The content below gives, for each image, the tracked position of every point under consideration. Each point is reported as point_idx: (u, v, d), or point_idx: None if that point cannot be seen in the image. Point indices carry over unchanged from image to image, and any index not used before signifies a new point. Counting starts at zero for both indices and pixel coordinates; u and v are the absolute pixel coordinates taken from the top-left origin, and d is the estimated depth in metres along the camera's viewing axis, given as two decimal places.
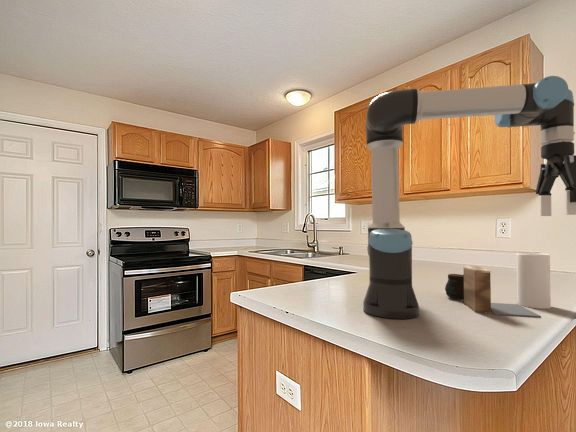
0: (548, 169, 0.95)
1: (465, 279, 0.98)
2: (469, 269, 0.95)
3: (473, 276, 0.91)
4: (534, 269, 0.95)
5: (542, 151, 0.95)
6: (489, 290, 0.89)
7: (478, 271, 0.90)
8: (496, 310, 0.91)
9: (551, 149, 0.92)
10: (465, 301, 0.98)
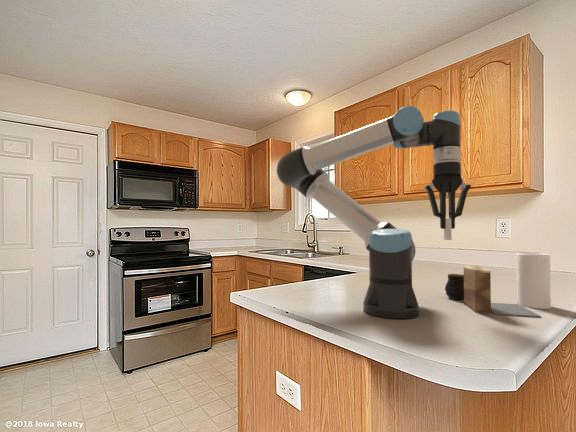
0: None
1: (465, 279, 0.98)
2: (469, 269, 0.95)
3: (473, 276, 0.91)
4: (534, 269, 0.95)
5: None
6: (489, 290, 0.89)
7: (478, 271, 0.90)
8: (496, 310, 0.91)
9: None
10: (465, 301, 0.98)
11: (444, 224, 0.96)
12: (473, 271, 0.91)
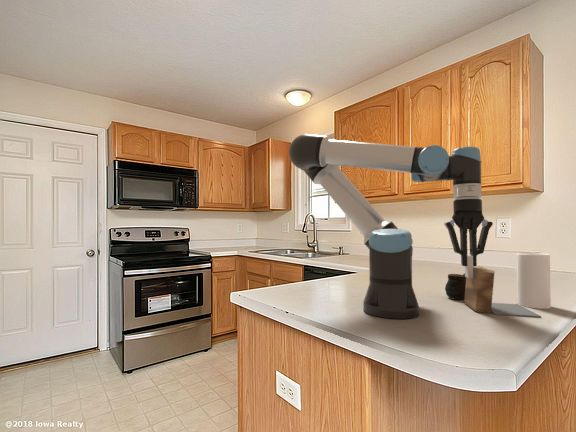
0: None
1: (468, 278, 0.98)
2: (473, 268, 0.94)
3: (477, 275, 0.91)
4: (534, 269, 0.95)
5: None
6: (491, 290, 0.89)
7: (482, 270, 0.90)
8: (496, 310, 0.91)
9: None
10: (465, 300, 0.98)
11: (465, 261, 0.95)
12: (477, 270, 0.91)
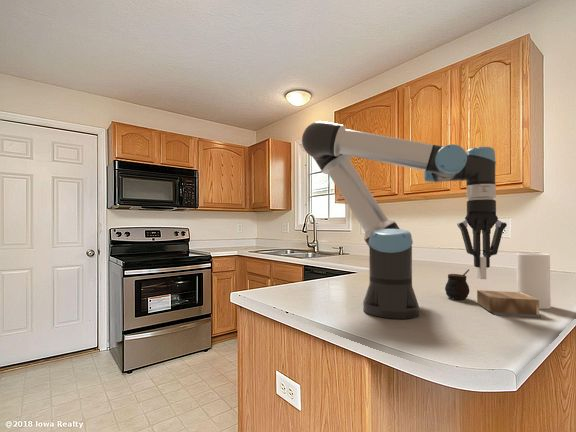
0: None
1: (508, 292, 0.96)
2: (528, 296, 0.91)
3: (529, 298, 0.88)
4: (534, 269, 0.95)
5: None
6: (515, 312, 0.88)
7: (537, 303, 0.87)
8: None
9: None
10: (482, 291, 0.97)
11: (478, 263, 0.94)
12: (534, 298, 0.88)
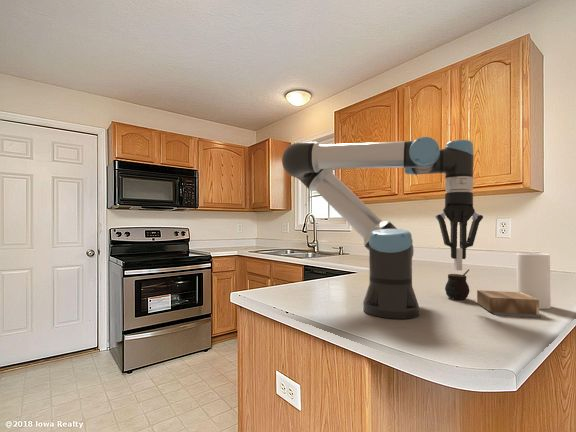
0: None
1: (508, 292, 0.96)
2: (528, 296, 0.91)
3: (529, 298, 0.88)
4: (534, 269, 0.95)
5: None
6: (515, 312, 0.88)
7: (537, 303, 0.87)
8: None
9: None
10: (482, 291, 0.97)
11: (455, 254, 0.96)
12: (534, 298, 0.88)
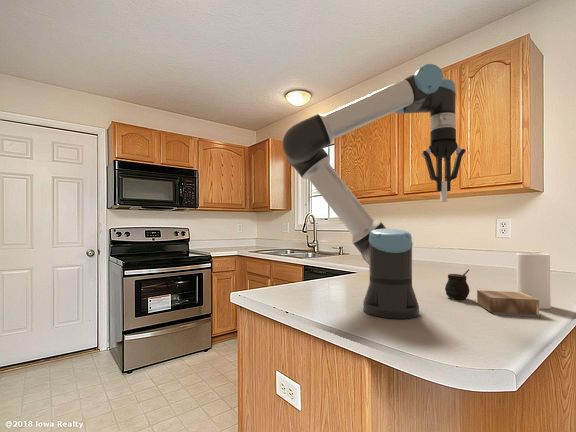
0: None
1: (508, 292, 0.96)
2: (528, 296, 0.91)
3: (529, 298, 0.88)
4: (534, 269, 0.95)
5: None
6: (515, 312, 0.88)
7: (537, 303, 0.87)
8: None
9: None
10: (482, 291, 0.97)
11: (440, 187, 1.02)
12: (534, 298, 0.88)
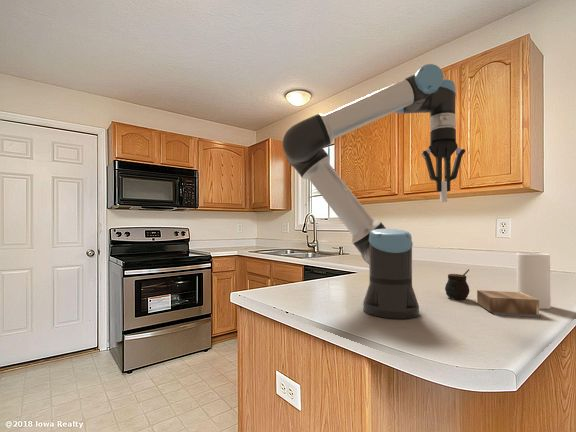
0: None
1: (508, 292, 0.96)
2: (528, 296, 0.91)
3: (529, 298, 0.88)
4: (534, 269, 0.95)
5: None
6: (515, 312, 0.88)
7: (537, 303, 0.87)
8: None
9: None
10: (482, 291, 0.97)
11: (440, 187, 1.02)
12: (534, 298, 0.88)
